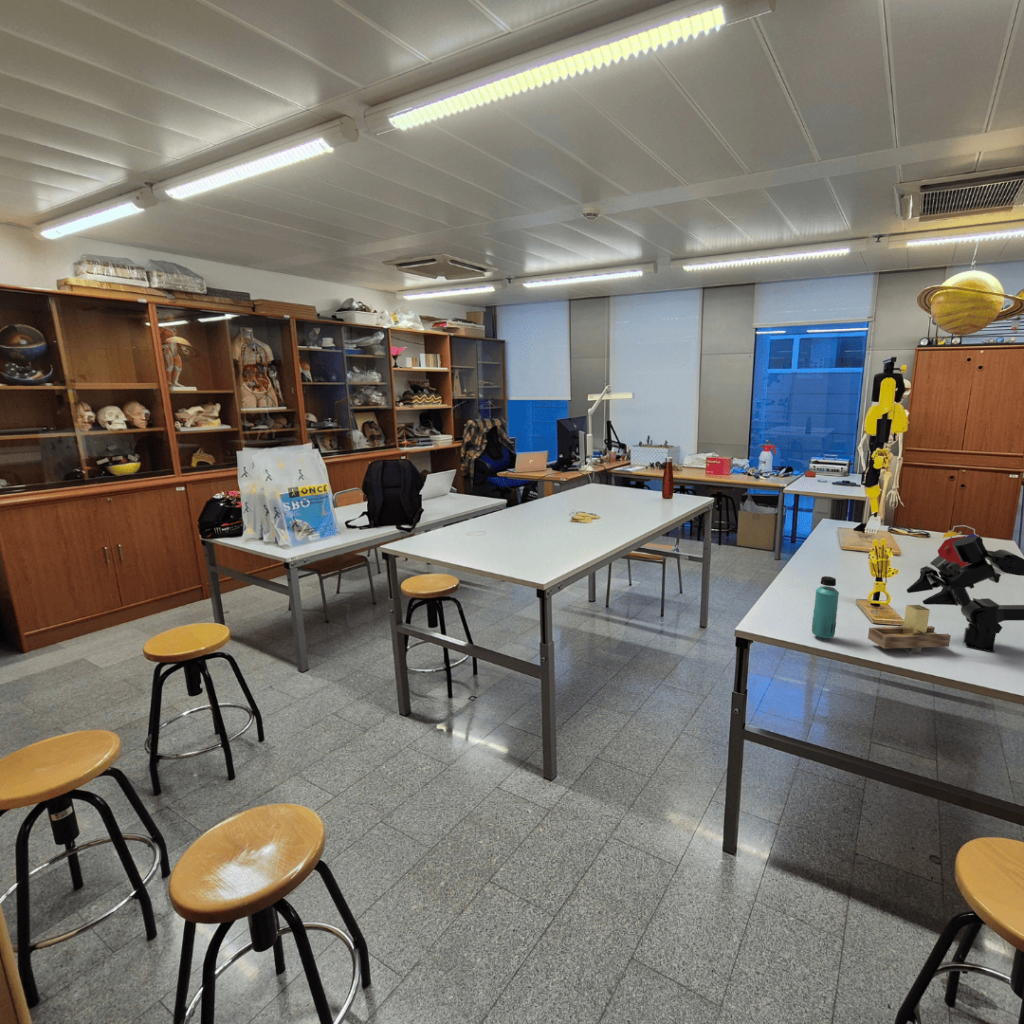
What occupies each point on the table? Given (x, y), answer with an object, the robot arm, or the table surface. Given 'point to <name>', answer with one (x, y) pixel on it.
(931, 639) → the wooden footed tray
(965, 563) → the alarm clock
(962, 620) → the table surface
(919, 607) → the beige upright block
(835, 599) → the beverage bottle
